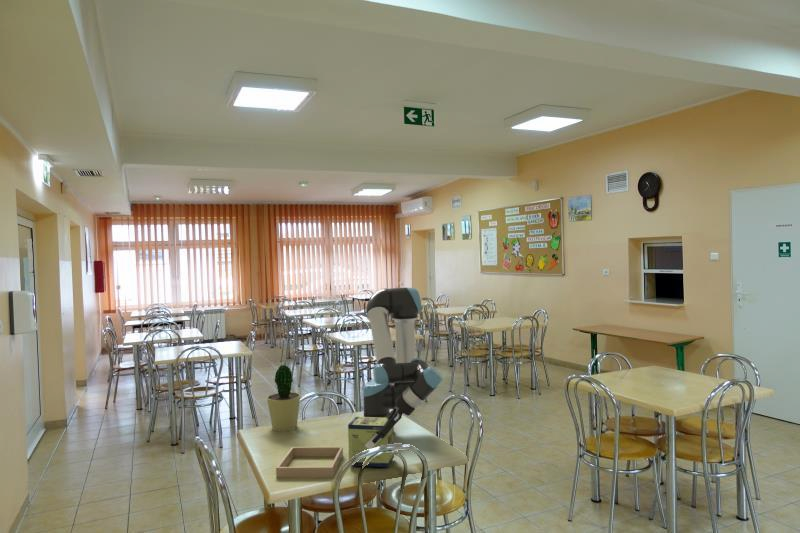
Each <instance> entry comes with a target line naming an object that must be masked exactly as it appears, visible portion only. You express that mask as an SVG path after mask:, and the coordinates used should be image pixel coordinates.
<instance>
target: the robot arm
mask: <svg viewBox="0 0 800 533" xmlns="http://www.w3.org/2000/svg"><path fill="white" fill-rule="evenodd" d="M422 306H423V305H422V300H421V296H420V293H419V291H418V290H417V288H415V287H394V288H392V287H391V288H381V289H379V290H376V291H375V292H374V293H373V294H371V297H370V298H369V299H368V301H367V304H366V307H365V308H366V309H365V313H366V319H367V320H368V321H369V323H370V324H369V325H370V329H371V336H372V341H373V347H374V352H375V360H376V364H374V366H373V368H372V372H373V380H370V381H368V382H365V384H363V387H362V401H363V402H362V403H363V417H380V418H388V421H387V422H386V423H385V426H383V427H382V428H381V429H380V431H379V432H378V431H376V434H375V435H374V436H373V437H372V438H371V439H370V440H369V441H368V442H367V443H366V444H365V446H366V447H367V448H368V449H370V448H373V447H374V446H375V445H376V444H377V443H378V442H379V441H380V440H381V439H383V438H384V437H385V436H386V435H387V433H388V432H389V431H390V430H391V429H392V428H393V435H394V434H395V426H396V424H397V423H398V422H399V421H401V419H402V418H403V414H404V415H405V416H410V415H412V413H413V412H414V411H415V410H416V408H418V407H419V406H420V405H424V404H423V403H424V402H423V401H425V400H426V399H427V398H428V397H429V396H430V395H431V394H432V393H433V392H434V391H435V390H436V389H437V388H438V386H439V385H440V384H441V383H442V382H443V376H442V375H441V374H440V372H438V370H437V369H435V368H434V367H433V366H430V365H428V363H427V362H426V361H425V360H424V359H423V358H421V357H416V347H415V346H416V343H415V342H416V338H415V337H416V336H415V332H416V331H415V321H416V320H417V319H418V314H420V313H422ZM390 315H391V319H392V321H394V324H395V350H394V346H393V340H392V335H391V330H390V326H389V325H390V324H389V320H388V317H389V316H390ZM390 410H391V411H390ZM382 433H383V434H382Z"/></svg>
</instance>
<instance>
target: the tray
mask: <svg viewBox="0 0 800 533" xmlns="http://www.w3.org/2000/svg"><path fill="white" fill-rule="evenodd" d="M294 457H334V460H333V461H332V463H331V465H330V466H288V465H289V464H290V462H291V461H292V459H293V458H294ZM343 457H344V447H343V446H291V447H290V448H289V450H288V452H287V453H286V454H285V455H284V456H283V458H282V459H281V460H280V461H279V463H278V465H277V466H276V468H275V472H276V473H275V476H276V478H333V477H334V476H333V475H335V473H336V471H337V470H338V467H339V464H340V462H341V460H342V459H343Z"/></svg>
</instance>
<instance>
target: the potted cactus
mask: <svg viewBox="0 0 800 533" xmlns="http://www.w3.org/2000/svg"><path fill="white" fill-rule="evenodd" d="M274 374H275V375H274V380H273V383H274V384H275V388H276V390H277V392H276V393H273V394H269V395H267V396H266V399H267V405H268V411H269V416H270V422H271V427H272V430H273V431H277V432H285V430H288V431H291V430H290V429H292V430H294V429H293V428H295V427H296V426H297V427H298V420H299V409H300V403H301V402H300V401H301V394H300V393H299V392H295V391H293V392H292V391H291V390H292V384H293V382H295V380H294V378H293V374H294V372H293V371H292V369H291V367H290V366H288V364H287V365H286V364H281V365H279V366H277V368H276V371H275V373H274ZM297 427H296V428H297ZM296 428H295V429H296Z"/></svg>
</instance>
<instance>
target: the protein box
mask: <svg viewBox="0 0 800 533" xmlns="http://www.w3.org/2000/svg"><path fill="white" fill-rule="evenodd" d="M387 421H388V418H380V417H364V416H356V417H355V416H354V419H352V420H351V422H349V423H348V424H347V427H348V428H347V431H348V432H347V434H348V435H347V436H348V461H349V460H350V459H351V458H352V457H353V456H355V455H356V454H358V453H360V452H362V451H364V450H367V449H368V448H367V447H366V446H365V444H366V443H367V442H368V441H369V440H370V439H371V438H372V437H373V436H374V435H375V434H376V431H378V432H379V431H380V429H381V428H382V427H383V426H385V423H386V422H387ZM382 434H383V433H382ZM387 444H394V434H393V428H392V429H391V430H390V431H389V432H388V433H387V435H386V436H385V437H384V438H383V439H381V440H380V441H379V442H378V443H377V444H376V445H375V446H374V447H377V446H381V445H387ZM374 447H373V448H374ZM394 458H395V452H394V453H382V454H380V455H378V456H376V457H375V458H373V459H372V460H371V461H370V462H369V464H368V466H367V467H382V468H389V466H390V465H391V463H392V461H393V459H394ZM365 459H366V457H365V458H362V459H360V460H359V461H358V462H356V463H355V464H354V465H353V466H360V467H361V465H362V464H363V462H364V461H365Z"/></svg>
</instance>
